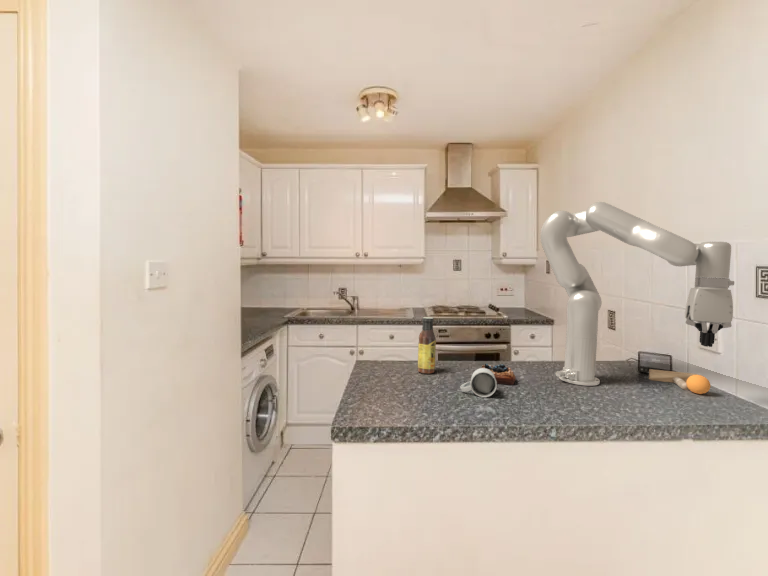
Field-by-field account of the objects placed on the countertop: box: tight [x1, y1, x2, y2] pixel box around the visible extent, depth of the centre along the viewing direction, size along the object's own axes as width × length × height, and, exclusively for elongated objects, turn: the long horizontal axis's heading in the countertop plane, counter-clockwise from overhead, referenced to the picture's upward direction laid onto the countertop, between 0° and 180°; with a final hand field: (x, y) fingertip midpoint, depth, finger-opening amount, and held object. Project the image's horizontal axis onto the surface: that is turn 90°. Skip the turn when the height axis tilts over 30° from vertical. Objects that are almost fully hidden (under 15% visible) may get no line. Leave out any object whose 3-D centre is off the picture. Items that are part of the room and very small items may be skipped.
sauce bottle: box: [417, 316, 437, 375], centre depth 137 cm, size 7×6×20 cm
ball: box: [686, 374, 711, 395], centre depth 122 cm, size 6×6×6 cm
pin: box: [673, 377, 690, 391], centre depth 129 cm, size 2×2×8 cm
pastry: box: [480, 363, 517, 386], centre depth 130 cm, size 11×12×6 cm
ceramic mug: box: [459, 367, 498, 398], centre depth 116 cm, size 11×8×8 cm
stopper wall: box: [648, 368, 698, 384], centre depth 134 cm, size 2×14×4 cm, turn 71°
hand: (706, 345), depth 112 cm, fingers closed
